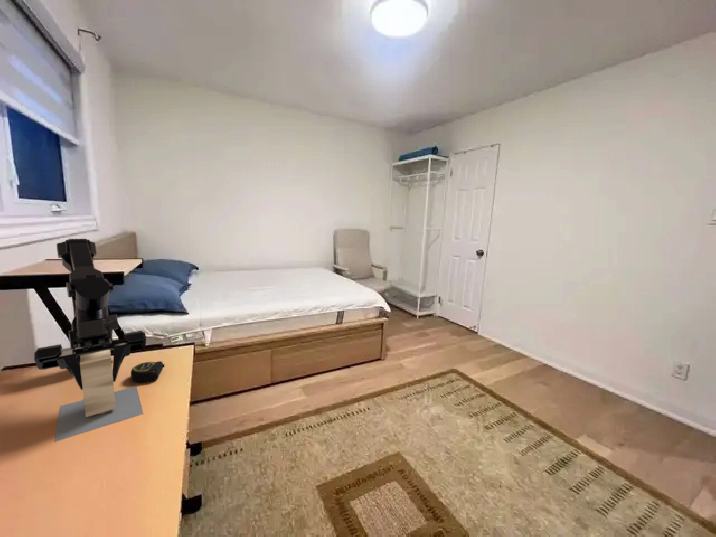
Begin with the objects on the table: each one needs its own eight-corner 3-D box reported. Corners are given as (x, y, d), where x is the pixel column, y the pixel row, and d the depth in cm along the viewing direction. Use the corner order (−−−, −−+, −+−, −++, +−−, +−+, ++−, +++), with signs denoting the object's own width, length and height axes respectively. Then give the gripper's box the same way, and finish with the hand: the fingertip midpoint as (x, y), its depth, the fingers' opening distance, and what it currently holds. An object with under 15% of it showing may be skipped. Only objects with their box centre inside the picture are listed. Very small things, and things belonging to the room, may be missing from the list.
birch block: (86, 405, 69) (80, 355, 67) (114, 397, 72) (110, 349, 70) (85, 417, 65) (79, 364, 63) (115, 408, 68) (111, 357, 66)
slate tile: (60, 408, 69) (60, 405, 69) (136, 388, 78) (136, 385, 78) (55, 444, 59) (54, 441, 59) (143, 416, 68) (143, 413, 68)
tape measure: (157, 384, 81) (156, 371, 80) (126, 387, 79) (125, 374, 78) (165, 371, 87) (164, 359, 87) (136, 374, 85) (135, 361, 85)
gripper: (29, 311, 62) (28, 386, 55) (142, 298, 74) (152, 358, 67) (39, 335, 69) (39, 404, 62) (140, 320, 81) (149, 377, 74)
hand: (98, 384), depth 66 cm, fingers closed on birch block, 5 cm apart
